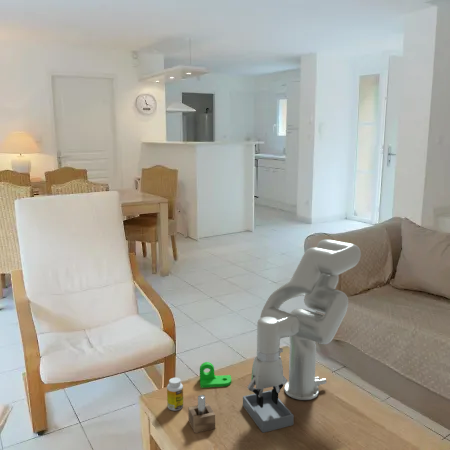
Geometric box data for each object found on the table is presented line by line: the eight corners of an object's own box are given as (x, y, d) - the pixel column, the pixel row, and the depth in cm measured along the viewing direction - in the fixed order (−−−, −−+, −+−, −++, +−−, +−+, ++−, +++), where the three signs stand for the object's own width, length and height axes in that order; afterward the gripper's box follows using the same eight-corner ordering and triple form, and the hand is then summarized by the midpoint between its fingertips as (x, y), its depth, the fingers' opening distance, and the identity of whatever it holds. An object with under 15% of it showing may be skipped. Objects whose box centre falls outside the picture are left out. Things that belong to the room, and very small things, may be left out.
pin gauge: (204, 421, 154) (203, 394, 152) (206, 425, 151) (206, 398, 149) (197, 423, 153) (196, 395, 151) (199, 427, 150) (199, 399, 149)
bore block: (208, 416, 156) (208, 403, 155) (215, 428, 150) (215, 414, 149) (188, 420, 154) (188, 407, 153) (194, 433, 148) (194, 419, 147)
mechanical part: (200, 389, 173) (200, 370, 172) (199, 381, 179) (199, 362, 178) (232, 387, 174) (232, 368, 173) (230, 379, 180) (230, 360, 179)
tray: (271, 399, 166) (271, 390, 166) (293, 425, 152) (293, 415, 151) (242, 405, 163) (242, 396, 162) (262, 432, 148) (262, 422, 147)
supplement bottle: (176, 413, 158) (175, 386, 156) (164, 408, 161) (163, 381, 159) (186, 405, 163) (186, 379, 161) (174, 400, 166) (173, 374, 164)
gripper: (285, 345, 159) (284, 393, 163) (240, 353, 153) (240, 403, 157) (296, 354, 152) (294, 404, 156) (249, 363, 146) (248, 415, 150)
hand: (267, 403), depth 156 cm, fingers open, 4 cm apart
